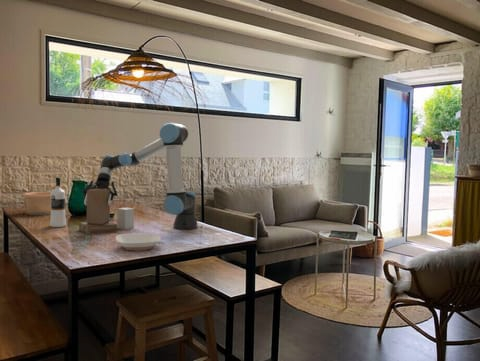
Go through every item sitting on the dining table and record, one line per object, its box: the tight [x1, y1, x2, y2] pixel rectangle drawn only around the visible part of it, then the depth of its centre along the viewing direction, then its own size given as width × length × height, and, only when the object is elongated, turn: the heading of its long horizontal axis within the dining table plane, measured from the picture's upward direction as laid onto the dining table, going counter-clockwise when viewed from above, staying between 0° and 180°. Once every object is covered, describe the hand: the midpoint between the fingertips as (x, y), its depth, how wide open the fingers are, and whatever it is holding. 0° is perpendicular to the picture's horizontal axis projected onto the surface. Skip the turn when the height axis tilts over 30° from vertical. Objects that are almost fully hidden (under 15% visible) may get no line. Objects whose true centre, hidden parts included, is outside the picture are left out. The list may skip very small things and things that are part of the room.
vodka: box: [49, 177, 67, 228], centre depth 253 cm, size 9×9×30 cm
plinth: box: [78, 221, 118, 236], centre depth 245 cm, size 16×16×5 cm
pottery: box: [22, 191, 51, 216], centre depth 298 cm, size 22×22×14 cm
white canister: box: [116, 207, 135, 230], centre depth 255 cm, size 7×7×12 cm
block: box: [86, 188, 111, 225], centre depth 243 cm, size 10×10×20 cm
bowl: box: [115, 232, 162, 251], centre depth 207 cm, size 22×22×5 cm
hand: (96, 204), depth 241 cm, fingers open, 13 cm apart
